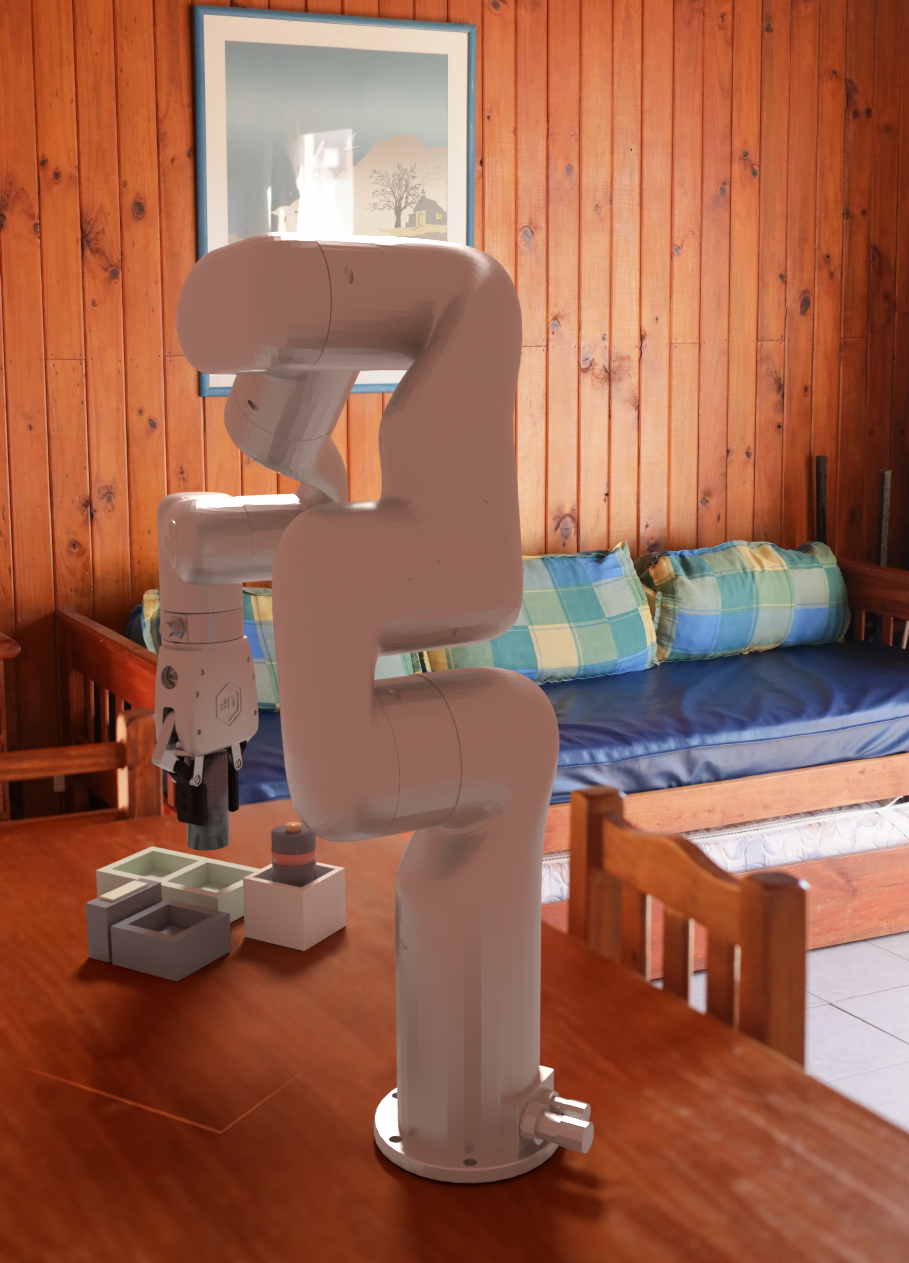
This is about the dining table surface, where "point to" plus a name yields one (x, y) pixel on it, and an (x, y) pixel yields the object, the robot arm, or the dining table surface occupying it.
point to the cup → (294, 893)
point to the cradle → (154, 931)
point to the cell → (213, 805)
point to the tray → (181, 878)
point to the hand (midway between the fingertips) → (208, 814)
